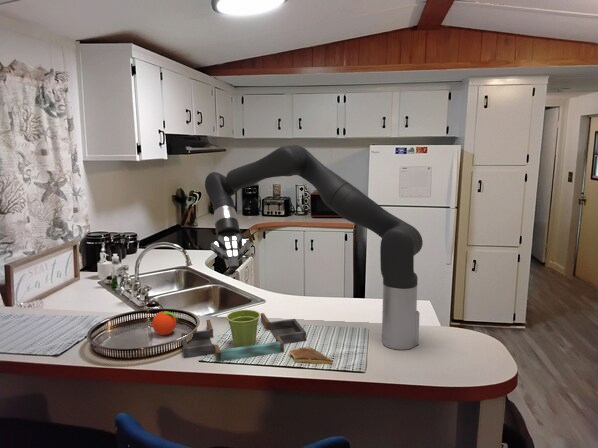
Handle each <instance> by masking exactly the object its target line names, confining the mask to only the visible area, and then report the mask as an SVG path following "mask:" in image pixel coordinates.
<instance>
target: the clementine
mask: <svg viewBox="0 0 598 448" xmlns="http://www.w3.org/2000/svg"><path fill="white" fill-rule="evenodd" d="M177 321H179V320H178V317H177V316H176V314H174V313H173V312H170V311H167V310H163V311H160V312H158V313H157V314H155V316H154V317H153V318H152V321H151V322H152V323H151V325H152V329H153V330H154V332H155V333H156V334H158V335H162V336H165V335H166V336H167V335H169V334H171V333H172V332H173V331H174V330H175V329H176V327H177Z"/></svg>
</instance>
